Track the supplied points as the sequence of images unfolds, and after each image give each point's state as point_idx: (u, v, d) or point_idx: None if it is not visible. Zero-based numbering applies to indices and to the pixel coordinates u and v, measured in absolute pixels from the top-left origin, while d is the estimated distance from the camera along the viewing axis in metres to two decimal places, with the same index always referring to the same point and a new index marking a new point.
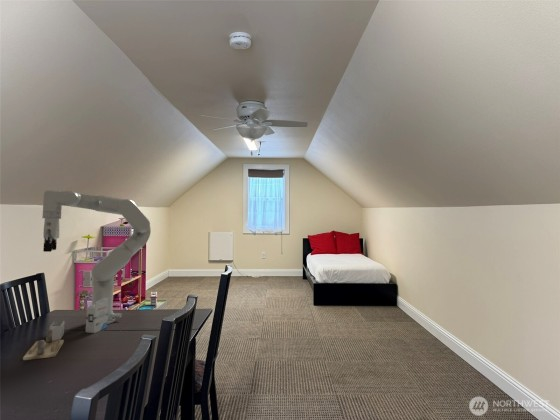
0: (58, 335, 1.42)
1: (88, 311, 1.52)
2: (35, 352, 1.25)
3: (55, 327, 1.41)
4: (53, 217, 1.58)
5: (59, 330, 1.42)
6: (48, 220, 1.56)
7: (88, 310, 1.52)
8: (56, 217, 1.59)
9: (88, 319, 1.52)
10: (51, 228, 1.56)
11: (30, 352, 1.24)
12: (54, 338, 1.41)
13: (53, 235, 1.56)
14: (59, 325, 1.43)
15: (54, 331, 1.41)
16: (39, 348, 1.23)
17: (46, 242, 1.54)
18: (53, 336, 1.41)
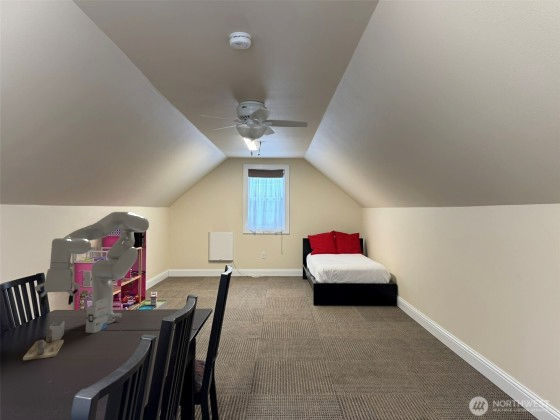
0: (58, 335, 1.42)
1: (88, 311, 1.52)
2: (35, 352, 1.25)
3: (55, 327, 1.41)
4: None
5: (59, 330, 1.42)
6: (71, 271, 1.47)
7: (88, 310, 1.52)
8: None
9: (88, 319, 1.52)
10: (72, 279, 1.48)
11: (30, 352, 1.24)
12: (54, 338, 1.41)
13: None
14: (59, 325, 1.43)
15: (54, 331, 1.41)
16: (39, 348, 1.23)
17: None
18: (53, 336, 1.41)
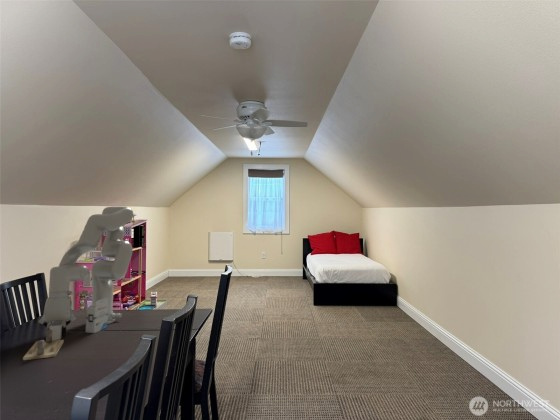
0: (58, 335, 1.42)
1: (88, 311, 1.52)
2: (35, 352, 1.25)
3: (55, 327, 1.41)
4: None
5: (59, 330, 1.42)
6: (70, 299, 1.47)
7: (88, 310, 1.52)
8: None
9: (88, 319, 1.52)
10: (71, 307, 1.48)
11: (30, 352, 1.24)
12: (54, 338, 1.41)
13: None
14: (59, 325, 1.42)
15: (54, 331, 1.41)
16: (39, 348, 1.23)
17: None
18: (53, 336, 1.41)
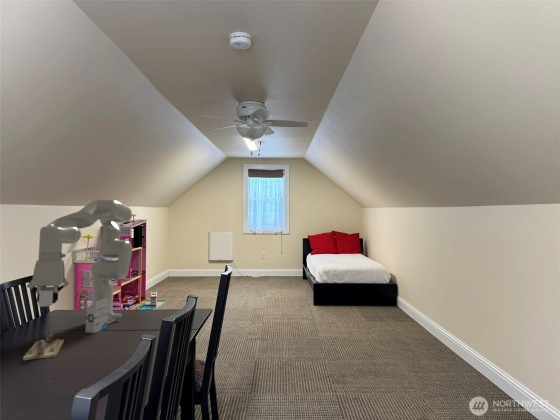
0: (49, 301, 1.27)
1: (88, 311, 1.52)
2: (35, 352, 1.25)
3: (45, 292, 1.27)
4: None
5: (50, 295, 1.28)
6: (62, 262, 1.33)
7: (88, 310, 1.52)
8: None
9: (88, 319, 1.52)
10: (64, 271, 1.34)
11: (30, 352, 1.24)
12: (44, 304, 1.27)
13: None
14: (50, 290, 1.28)
15: (44, 296, 1.27)
16: (39, 348, 1.23)
17: None
18: (43, 302, 1.27)
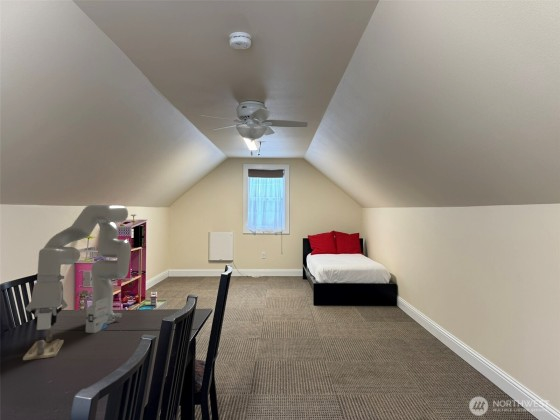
0: (47, 323, 1.27)
1: (88, 311, 1.52)
2: (35, 352, 1.25)
3: (44, 314, 1.27)
4: None
5: (48, 318, 1.27)
6: (61, 284, 1.32)
7: (88, 310, 1.52)
8: None
9: (88, 319, 1.52)
10: None
11: (30, 352, 1.24)
12: (42, 327, 1.26)
13: None
14: (48, 312, 1.28)
15: (43, 319, 1.26)
16: (39, 348, 1.23)
17: (56, 314, 1.31)
18: (41, 325, 1.26)
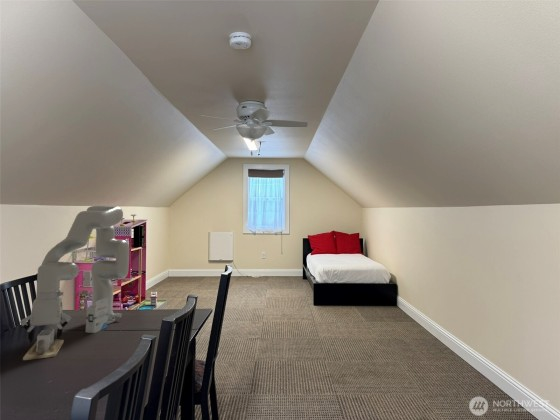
0: (46, 346, 1.27)
1: (88, 311, 1.52)
2: (35, 352, 1.25)
3: (43, 337, 1.26)
4: None
5: (48, 340, 1.27)
6: (60, 301, 1.32)
7: (88, 310, 1.52)
8: None
9: (88, 319, 1.52)
10: (62, 309, 1.33)
11: (30, 352, 1.24)
12: None
13: None
14: (48, 334, 1.28)
15: None
16: (39, 348, 1.23)
17: None
18: None
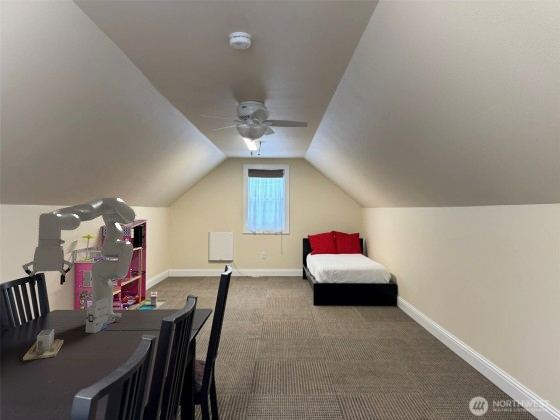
0: (46, 346, 1.27)
1: (88, 311, 1.52)
2: (35, 352, 1.25)
3: (43, 337, 1.26)
4: None
5: (48, 340, 1.27)
6: (62, 248, 1.35)
7: (88, 310, 1.52)
8: None
9: (88, 319, 1.52)
10: (63, 257, 1.37)
11: (30, 352, 1.24)
12: None
13: None
14: (48, 334, 1.28)
15: None
16: (39, 348, 1.23)
17: None
18: None
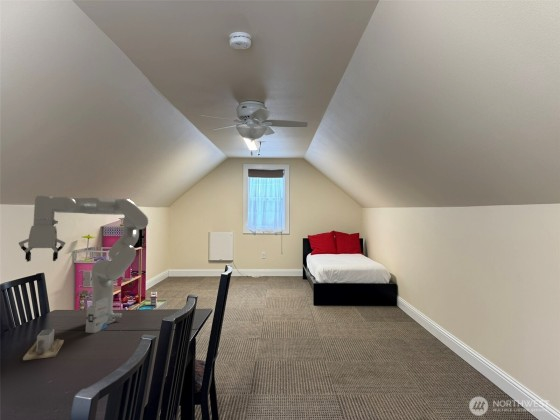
0: (46, 346, 1.27)
1: (88, 311, 1.52)
2: (35, 352, 1.25)
3: (43, 337, 1.26)
4: (53, 224, 1.50)
5: (48, 340, 1.27)
6: (55, 228, 1.49)
7: (88, 310, 1.52)
8: None
9: (88, 319, 1.52)
10: (56, 236, 1.50)
11: (30, 352, 1.24)
12: None
13: (56, 243, 1.51)
14: (48, 334, 1.28)
15: None
16: (39, 348, 1.23)
17: None
18: None
